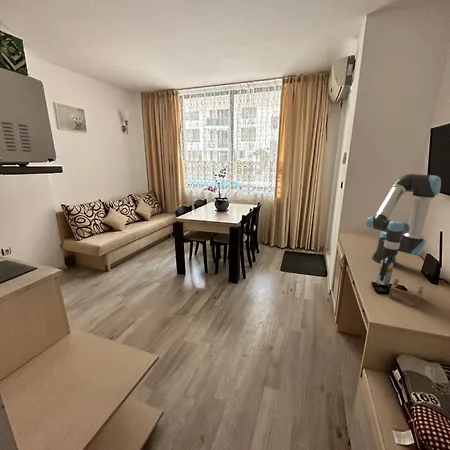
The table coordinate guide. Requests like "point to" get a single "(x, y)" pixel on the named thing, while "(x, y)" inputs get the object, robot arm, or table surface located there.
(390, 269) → the bottle
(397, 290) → the u rest
